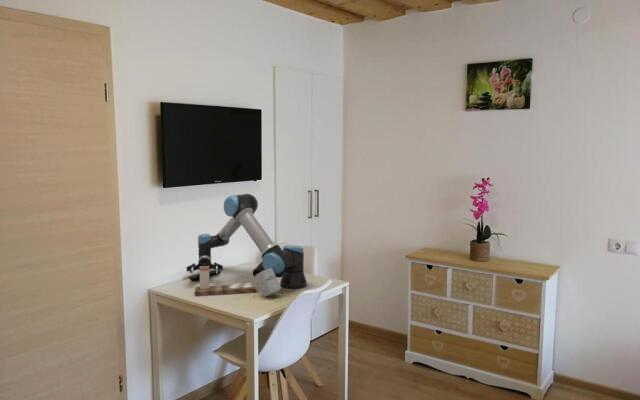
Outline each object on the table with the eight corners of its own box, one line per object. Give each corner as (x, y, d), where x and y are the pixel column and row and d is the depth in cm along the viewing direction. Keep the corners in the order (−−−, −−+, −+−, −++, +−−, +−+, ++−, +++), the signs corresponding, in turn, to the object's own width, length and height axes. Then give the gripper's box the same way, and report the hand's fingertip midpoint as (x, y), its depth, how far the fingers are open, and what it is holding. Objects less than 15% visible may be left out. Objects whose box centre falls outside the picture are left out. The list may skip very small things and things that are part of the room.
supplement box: (271, 293, 266) (261, 271, 268) (263, 297, 272) (254, 275, 274) (281, 288, 271) (272, 267, 273) (274, 292, 277) (265, 271, 279)
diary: (252, 277, 314) (252, 269, 313) (261, 267, 338) (261, 260, 338) (282, 278, 311) (282, 270, 311) (289, 268, 336) (289, 260, 336)
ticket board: (255, 287, 289) (255, 282, 289) (256, 292, 279) (256, 287, 279) (195, 291, 282) (195, 285, 282) (195, 296, 272) (194, 290, 272)
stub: (209, 287, 280) (209, 266, 278) (209, 288, 277) (209, 267, 276) (200, 287, 279) (199, 266, 277) (199, 289, 276) (199, 267, 275)
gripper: (225, 268, 310) (227, 277, 290) (183, 270, 305) (181, 279, 284) (225, 255, 309) (227, 264, 289) (183, 257, 304) (181, 266, 283)
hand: (204, 271), depth 287 cm, fingers open, 13 cm apart
